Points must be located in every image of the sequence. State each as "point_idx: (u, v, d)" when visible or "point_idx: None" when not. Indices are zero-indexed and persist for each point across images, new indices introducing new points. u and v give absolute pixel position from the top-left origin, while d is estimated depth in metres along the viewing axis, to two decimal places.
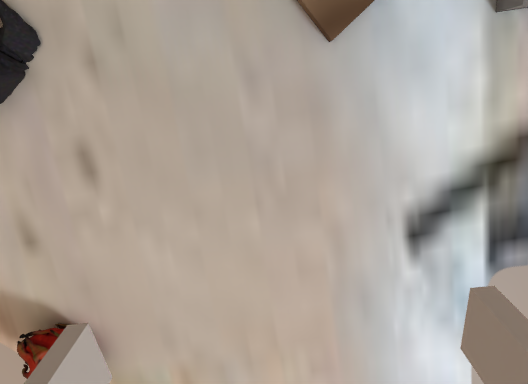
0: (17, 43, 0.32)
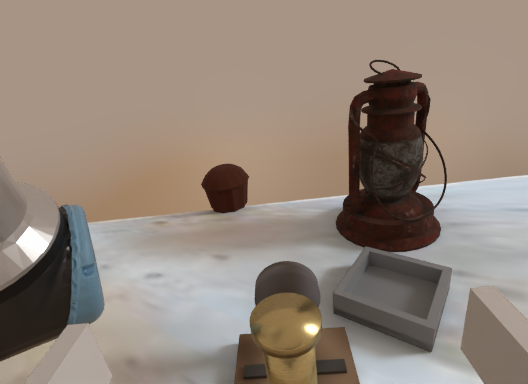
0: None
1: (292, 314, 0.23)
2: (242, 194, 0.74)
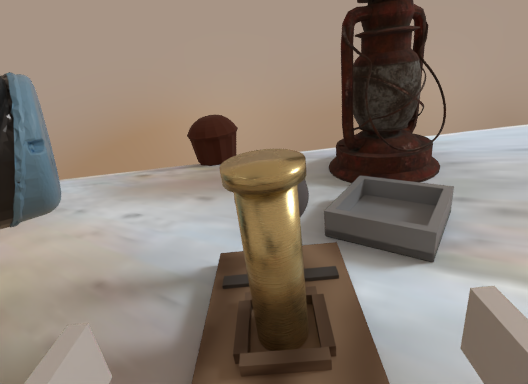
0: None
1: (271, 159, 0.19)
2: (230, 145, 0.70)
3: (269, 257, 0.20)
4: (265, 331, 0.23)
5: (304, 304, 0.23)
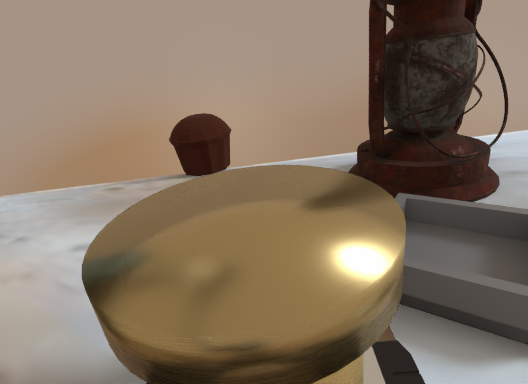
0: None
1: (275, 205, 0.06)
2: (222, 151, 0.57)
3: None
4: None
5: None
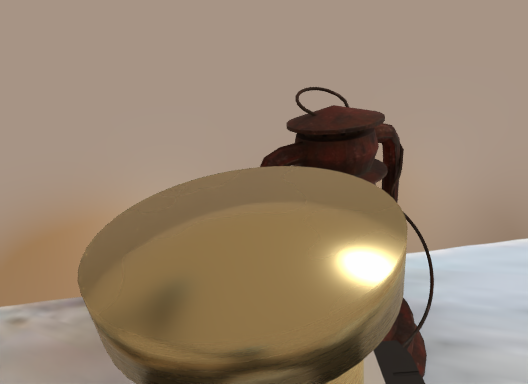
0: None
1: (275, 207, 0.06)
2: None
3: None
4: None
5: None
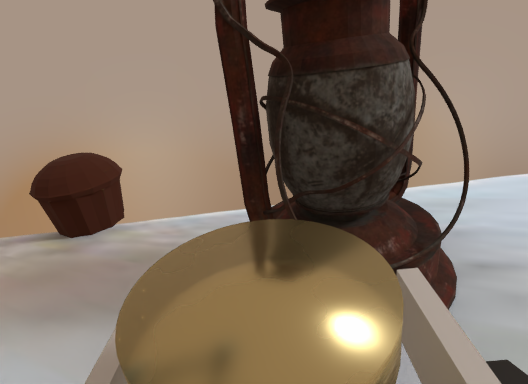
0: None
1: (286, 273, 0.06)
2: (103, 204, 0.43)
3: None
4: None
5: None
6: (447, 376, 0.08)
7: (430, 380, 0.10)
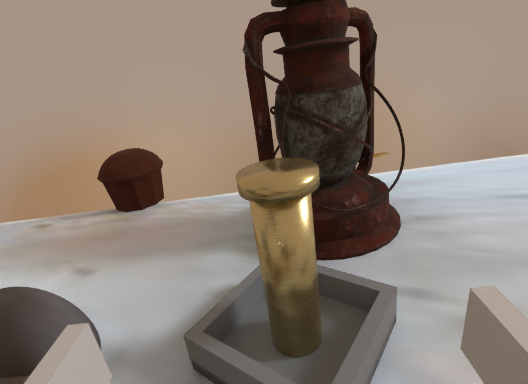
0: None
1: (285, 168, 0.20)
2: (151, 187, 0.57)
3: (284, 263, 0.20)
4: (280, 336, 0.23)
5: (318, 309, 0.23)
6: None
7: None
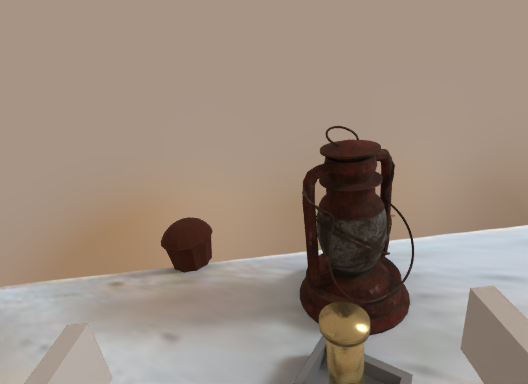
0: None
1: (348, 317, 0.33)
2: (204, 252, 0.69)
3: (347, 373, 0.33)
4: None
5: None
6: None
7: None
